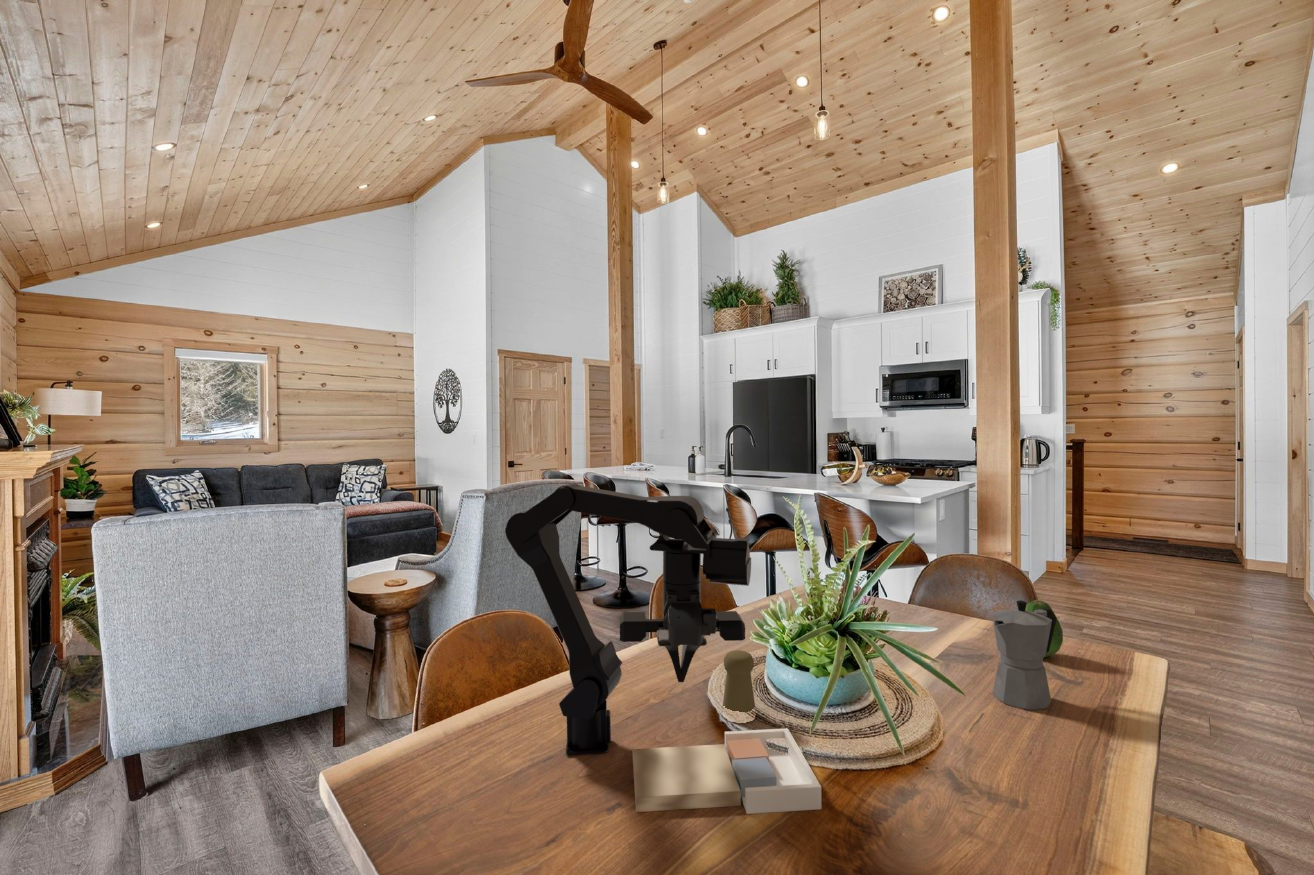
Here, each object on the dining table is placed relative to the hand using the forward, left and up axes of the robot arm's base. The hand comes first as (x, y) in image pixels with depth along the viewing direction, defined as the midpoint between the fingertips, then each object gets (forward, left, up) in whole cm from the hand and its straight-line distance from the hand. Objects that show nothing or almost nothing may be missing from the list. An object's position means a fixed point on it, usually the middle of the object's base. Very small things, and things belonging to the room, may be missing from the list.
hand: (680, 681), depth 95 cm
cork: (+11, +12, -12) cm, 20 cm away
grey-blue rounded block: (+9, -9, -11) cm, 17 cm away
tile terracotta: (+9, -4, -11) cm, 15 cm away
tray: (+11, -7, -12) cm, 18 cm away
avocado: (+80, +31, -12) cm, 87 cm away
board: (-1, -7, -12) cm, 14 cm away
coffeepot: (+64, +13, -12) cm, 67 cm away
